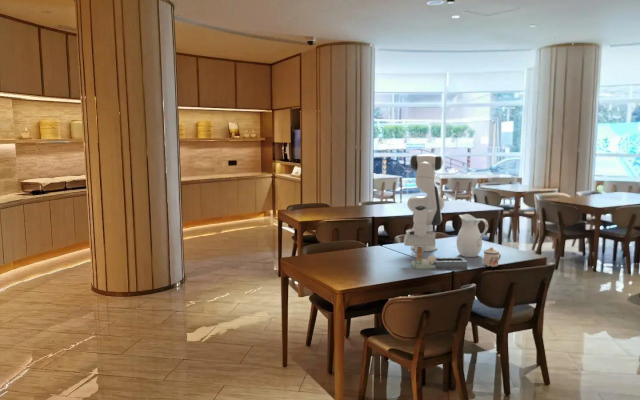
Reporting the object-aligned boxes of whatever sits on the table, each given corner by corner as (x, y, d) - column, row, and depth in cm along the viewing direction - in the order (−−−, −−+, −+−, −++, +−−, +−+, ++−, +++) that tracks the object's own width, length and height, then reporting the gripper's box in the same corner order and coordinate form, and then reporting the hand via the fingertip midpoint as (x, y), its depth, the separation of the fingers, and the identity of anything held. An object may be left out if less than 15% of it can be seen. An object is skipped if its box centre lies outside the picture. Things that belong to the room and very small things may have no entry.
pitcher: (450, 254, 352) (452, 214, 348) (469, 251, 360) (470, 213, 356) (475, 262, 331) (477, 220, 327) (494, 258, 339) (496, 218, 335)
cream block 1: (427, 265, 322) (421, 265, 322) (428, 259, 321) (421, 259, 321) (429, 266, 318) (423, 266, 318) (429, 260, 317) (423, 260, 317)
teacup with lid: (490, 267, 317) (490, 249, 316) (480, 264, 326) (481, 246, 324) (505, 265, 322) (505, 247, 320) (495, 262, 330) (495, 244, 329)
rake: (416, 260, 332) (416, 246, 330) (420, 260, 332) (421, 246, 330) (417, 262, 327) (418, 248, 326) (422, 262, 327) (422, 248, 326)
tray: (411, 264, 325) (411, 261, 324) (431, 264, 325) (431, 260, 325) (414, 269, 315) (414, 265, 314) (435, 268, 315) (435, 264, 315)
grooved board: (431, 264, 325) (431, 257, 325) (462, 264, 326) (462, 257, 325) (435, 268, 315) (435, 261, 314) (467, 268, 315) (467, 261, 315)
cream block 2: (430, 262, 321) (427, 257, 321) (435, 259, 321) (432, 254, 321) (431, 264, 318) (428, 259, 317) (437, 261, 317) (434, 256, 317)
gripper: (434, 230, 330) (434, 250, 332) (403, 230, 330) (403, 251, 332) (437, 232, 324) (436, 253, 326) (405, 232, 324) (405, 253, 325)
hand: (419, 252), depth 329 cm, fingers closed on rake, 2 cm apart
